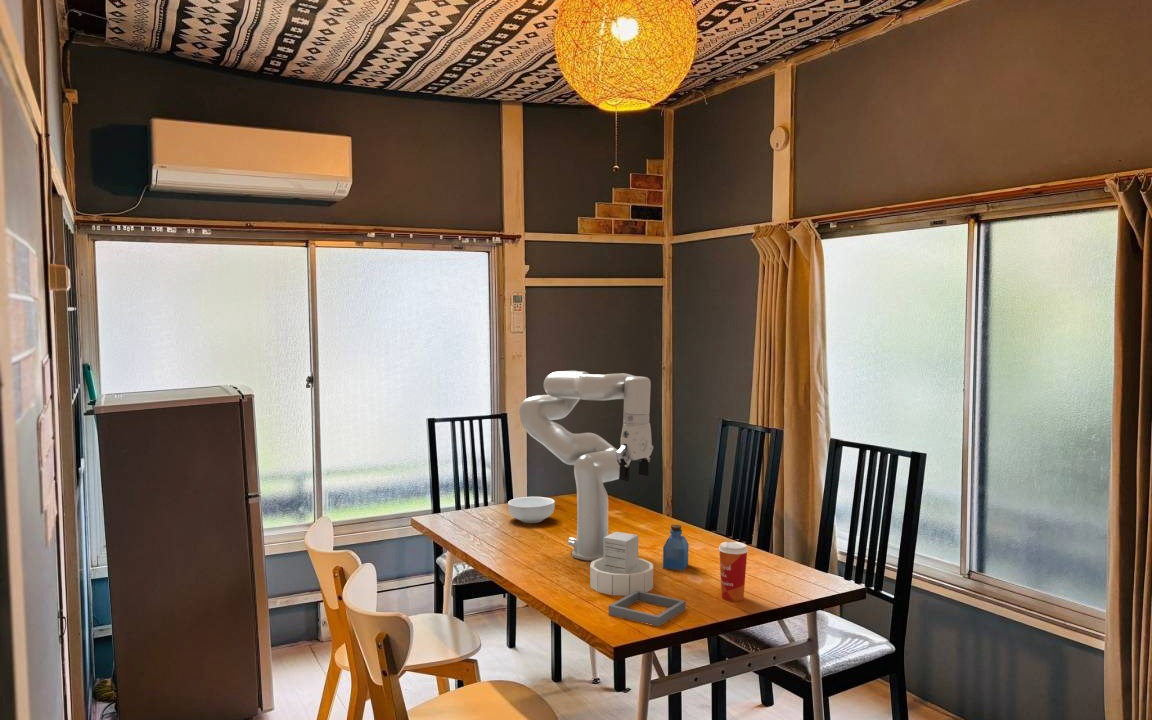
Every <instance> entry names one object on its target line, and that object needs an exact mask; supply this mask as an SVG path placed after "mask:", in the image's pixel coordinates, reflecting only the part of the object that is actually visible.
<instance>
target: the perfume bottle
mask: <svg viewBox="0 0 1152 720" xmlns="http://www.w3.org/2000/svg"><path fill="white" fill-rule="evenodd" d="M682 527H683V526H682V525H680V524H671V525H670V528H671V529H670V531H669V534H670V535H669V536H668V537H667V539H666V541H665V543H664V546H663V547H662V569H665V568H667V569H666V570H675V569H677V571H685V570H686V568H687V567H688V566H689V542H688V540H687V539H686V537H685V536H684V535H682V534H683V529H682ZM687 565H688V566H687Z"/></svg>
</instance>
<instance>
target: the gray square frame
mask: <svg viewBox="0 0 1152 720" xmlns="http://www.w3.org/2000/svg"><path fill="white" fill-rule="evenodd" d="M636 602H643V603H647V604H653V605H657V606H660V605H661V606H662V607H666V608H667V609H666V610H664V611H662V612H660V613H659V614H657V615H656V614H652V613H649V612H644V611H640V610H635V609H631V608H628V607H630V606H632V605H633V604H635V603H636ZM686 605H687V601H686V600H682V599H678V598H674V597H668V596H666V595H665V596H664V595H659V594H657V593H651V592H642V591H638V590H637V591H635V592H633V593H631V594H630V595H628V596H624V597H622V598H621V599H619V600H616V601H615V602H613V603H611V604H609V605H608V615H610V616H612V617H613V616H614V617H617V618H622V619H625V620H629V621H634V622H637V623H641V622H643V623H642V624H645V623H648V624H647V625H649V624H652V625H651V626H654V625H655V627H658V626H659V627H660V625H661V624H662V625H664V624H665V623H667V622H669V621H670V620H672V619H673V618H675V617H677V616H678V615H680V614H681V613H683V612H684V611H686V609H687V606H686ZM668 620H669V621H668ZM663 623H664V624H663ZM662 625H661V626H662Z"/></svg>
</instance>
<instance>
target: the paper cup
mask: <svg viewBox="0 0 1152 720" xmlns="http://www.w3.org/2000/svg"><path fill="white" fill-rule="evenodd" d="M718 551H719V566H720V567H719V568H720V591H721V592H720V593H721V598H722V599H723V600H724V599H725V601H727V600H728V602H740V600H741V601H743V600H744V598H745V597H744V596H745V595H744V594H745V585H746V584H745V583H746V573H747V557H748V552H749V549H748V546H747V544H746V543H743V542H739V541H724V542H721V543H720V544H719V546H718Z"/></svg>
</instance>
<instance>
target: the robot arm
mask: <svg viewBox="0 0 1152 720" xmlns="http://www.w3.org/2000/svg"><path fill="white" fill-rule="evenodd" d="M651 386H652V383H651V379H650V378H649V377H647V376H642V375H641V376H638V375H637V376H636V375H633V374H629V373H624V372H622V373H621V372H620V373H607V374H590V373H589V372H587V371H578V370H560V371H553V372H551V373H549V374H547V375H546V377H545V379H544V381H543V389H544V391H545V393H546V394H541V395H540V394H538V395H533V396H529V397H527V398H526V399H524V400H523V401H522V402H521V403H520V406H519V408H518V411H519V412H518V413H519V419H520V423H521V425H522V427H523V429H524V430H525V431H526V433H527V434H528V435H530V437H532V438H533V439H534V440H536V441H537V442H538V443H540V444H541V445H543V446H544V447H545V448H546V449H547V450H548V451H549V452H551V453H552V454H553V455H554V456H555V457H556V458H558V459H559V460H560V461H561V462H562V463H564V464H566V465H567V466H568V465H569V466H573V474H574V479H575V484H576V485H575V486H576V504H577V505H576V514H577V515H576V537H569V538H568V540H567V546H571V547H573V550H571V556H572V557H573V558H576V559H577V560H582V561H587V562H588V561H590V562H592V561H594V560H597V559H599V558H603V538H604V537H606V536H608V535H609V496H608V492H607V490H606V488H605V486H604V483H608V482H613V481H616V480H621V481H625V482H628V481H630V473H631V471H630V470H631V467H630V463H631V462H632V461H638V460H639V461H638V475H640V476H646V477H647V476H649V474H650V473H649V472H650V462H651V457H652V455H653V453H652V452H653V450H654V445H653V444H652V443H653V442H652V428H651V427H652V426H651V423H650V410H651V408H650V406H651V388H652V387H651ZM581 400H584V401H585V400H586V401H611V400H623V418H622V419H623V420H622V421H623V422H622V428H621V434H620V446H619V449H617V448H616V447H614V446H613V445H612V444H611V443H609V442H608V441H607V440H606V439H604V438H603V437H601V436H600V435H598V434H596V433H594V432H593V433H592V432H581V433H573V432H571V431H569V430H568V429H566V428H565V427H564V426H562V425H561V424H559V423H558V422H555V420H556V421H557V420H562V419H564V418H566V417H567V416H568V415H569V414H570V413H571V412H572V411H573V409H574V408H575V406H576V405H577V404H578V402H579V401H581Z"/></svg>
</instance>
